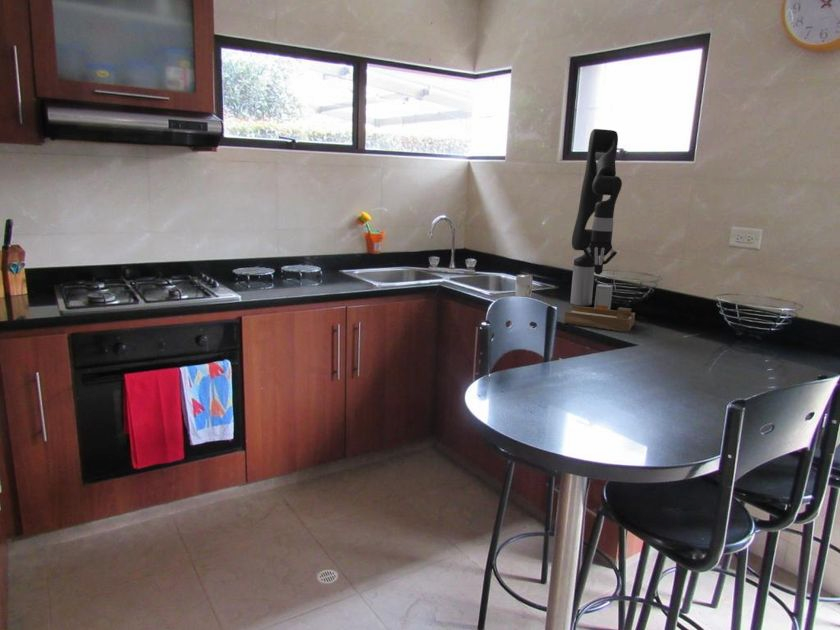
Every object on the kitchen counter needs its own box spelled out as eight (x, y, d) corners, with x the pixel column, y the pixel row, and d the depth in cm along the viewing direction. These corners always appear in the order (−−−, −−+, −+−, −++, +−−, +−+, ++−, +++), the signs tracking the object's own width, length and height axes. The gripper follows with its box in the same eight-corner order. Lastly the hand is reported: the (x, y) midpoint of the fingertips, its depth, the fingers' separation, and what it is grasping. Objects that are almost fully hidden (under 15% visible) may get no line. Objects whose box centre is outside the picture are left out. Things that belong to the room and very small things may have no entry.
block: (618, 317, 240) (619, 307, 239) (630, 318, 238) (631, 308, 237) (616, 319, 236) (617, 309, 235) (628, 320, 234) (629, 310, 233)
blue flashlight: (512, 312, 254) (515, 276, 251) (514, 308, 261) (516, 273, 257) (529, 313, 253) (532, 277, 249) (531, 310, 259) (533, 275, 256)
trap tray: (572, 316, 250) (573, 305, 249) (633, 324, 240) (635, 312, 239) (563, 323, 237) (564, 312, 236) (628, 331, 227) (629, 320, 226)
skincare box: (593, 313, 257) (596, 285, 254) (595, 311, 260) (598, 283, 258) (608, 315, 254) (611, 286, 251) (610, 313, 258) (613, 285, 255)
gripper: (621, 230, 235) (617, 274, 239) (587, 227, 241) (582, 271, 245) (618, 231, 228) (613, 277, 232) (582, 228, 234) (578, 273, 238)
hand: (597, 274), depth 238 cm, fingers closed
